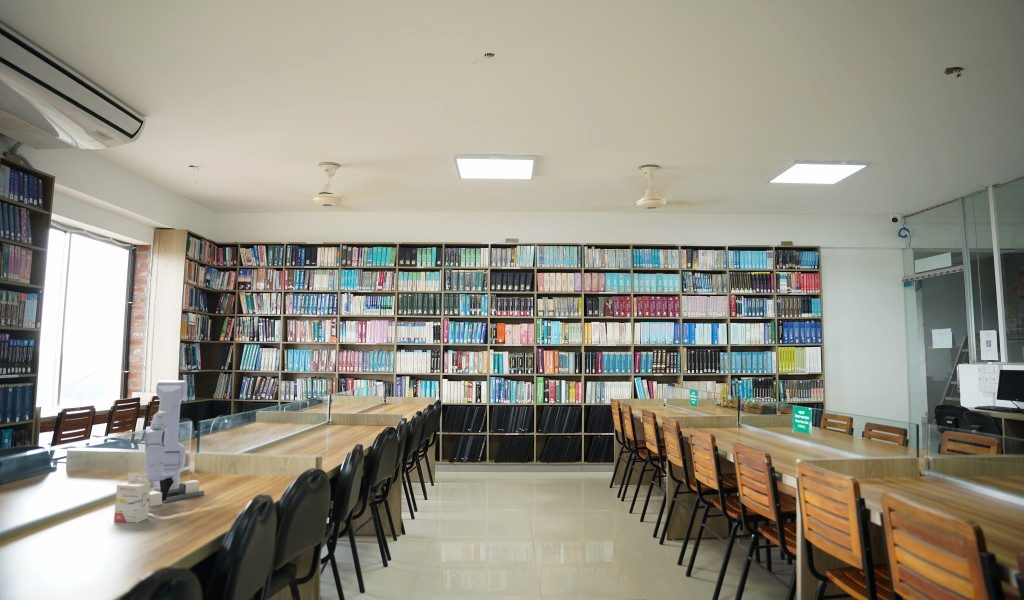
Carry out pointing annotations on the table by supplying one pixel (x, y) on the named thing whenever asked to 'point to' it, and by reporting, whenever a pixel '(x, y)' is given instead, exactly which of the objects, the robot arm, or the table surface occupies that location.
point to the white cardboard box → (155, 498)
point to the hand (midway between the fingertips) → (151, 502)
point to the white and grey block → (188, 486)
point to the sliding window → (181, 496)
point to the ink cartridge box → (132, 499)
